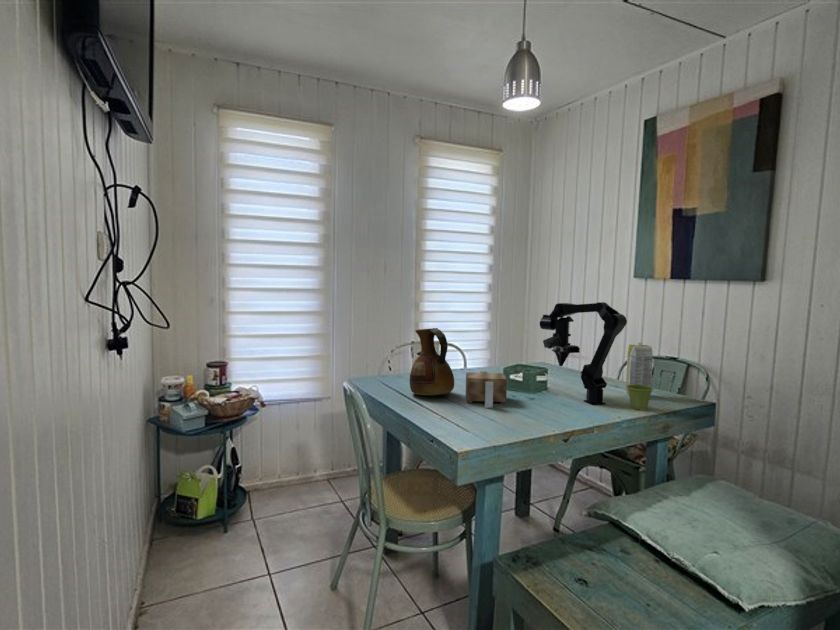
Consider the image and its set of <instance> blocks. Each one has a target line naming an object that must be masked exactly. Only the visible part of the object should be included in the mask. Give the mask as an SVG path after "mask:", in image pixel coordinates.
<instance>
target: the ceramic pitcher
mask: <svg viewBox="0 0 840 630" xmlns="http://www.w3.org/2000/svg"><path fill="white" fill-rule="evenodd" d="M414 333H416V334H417V335H418V338H419V342H420V347H421V350H420V355H419V356H418V357H417V358H416V359H415V360H414V362H413V364H412V366H411V369H410V372H409V373H410V374H409V388H410V390H411V392H412V393H413V394H414V395H421V396H440V395H441V396H442V395H445V394H446V395H449V394H450V393H452V392H453V390H454V388H455V377H454V372H453V369H452V368H451V366H450V364H449V362H448V361H447V360H446V356H447V352H448V341H447V337H446V335H445V333H444V332H443V331H442V330H441V329H439V328H438V327H432V328H422V329H415V331H414ZM435 337H436V338H437V340H438V343H439V345H440V346H439V347H440V349H439V350H440V351H439V354H438V352H437V350H436V347H435Z"/></svg>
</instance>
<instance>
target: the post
mask: <svg viewBox="0 0 840 630" xmlns="http://www.w3.org/2000/svg"><path fill="white" fill-rule="evenodd" d="M493 406H494V402H493V382H485V401H484V408H485V409H493V408H494V407H493Z"/></svg>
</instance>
